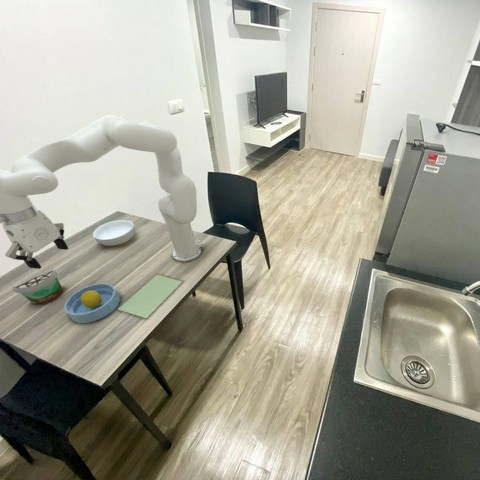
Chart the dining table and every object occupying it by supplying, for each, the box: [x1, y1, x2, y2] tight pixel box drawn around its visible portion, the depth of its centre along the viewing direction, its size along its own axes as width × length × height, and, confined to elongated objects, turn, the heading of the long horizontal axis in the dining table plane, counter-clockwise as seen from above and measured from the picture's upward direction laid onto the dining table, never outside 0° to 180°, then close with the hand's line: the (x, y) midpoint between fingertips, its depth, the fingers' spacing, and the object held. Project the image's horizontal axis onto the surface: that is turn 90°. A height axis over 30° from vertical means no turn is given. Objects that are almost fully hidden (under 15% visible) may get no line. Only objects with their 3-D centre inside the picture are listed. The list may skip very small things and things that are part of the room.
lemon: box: [81, 291, 102, 308], centre depth 98 cm, size 6×6×8 cm
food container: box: [12, 269, 64, 306], centre depth 99 cm, size 12×6×10 cm, turn 148°
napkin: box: [117, 274, 183, 319], centre depth 106 cm, size 20×13×1 cm, turn 165°
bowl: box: [63, 282, 121, 324], centre depth 99 cm, size 15×15×5 cm
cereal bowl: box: [92, 219, 136, 247], centre depth 130 cm, size 17×17×7 cm
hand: (50, 257), depth 86 cm, fingers open, 9 cm apart
